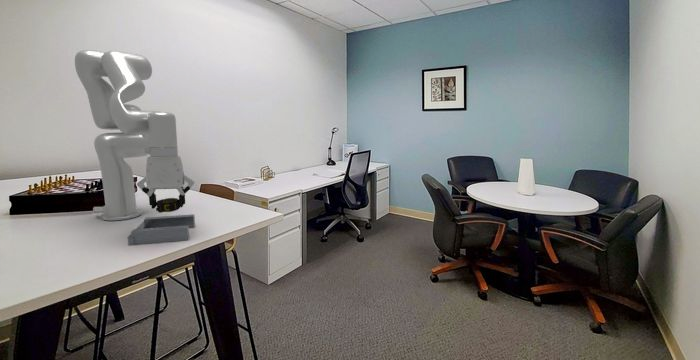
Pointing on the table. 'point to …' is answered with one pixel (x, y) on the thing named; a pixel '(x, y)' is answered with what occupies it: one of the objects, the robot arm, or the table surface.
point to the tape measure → (167, 205)
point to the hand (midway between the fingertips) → (168, 206)
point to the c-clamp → (162, 229)
